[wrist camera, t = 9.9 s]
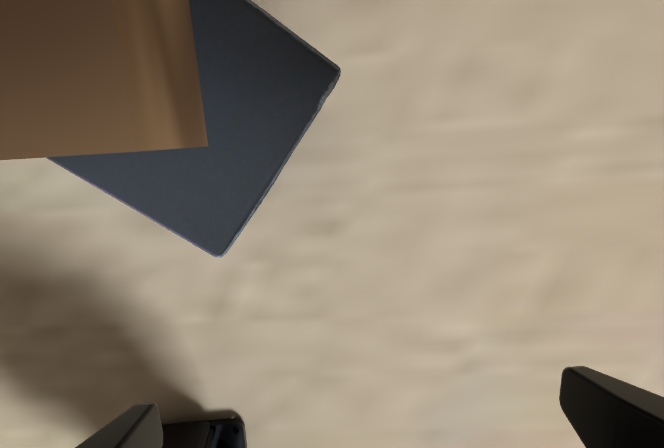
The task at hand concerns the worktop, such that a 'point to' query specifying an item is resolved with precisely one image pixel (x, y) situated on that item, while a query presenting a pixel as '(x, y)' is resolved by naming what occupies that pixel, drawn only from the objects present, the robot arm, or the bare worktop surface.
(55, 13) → the walnut block
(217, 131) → the small box
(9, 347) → the worktop surface
